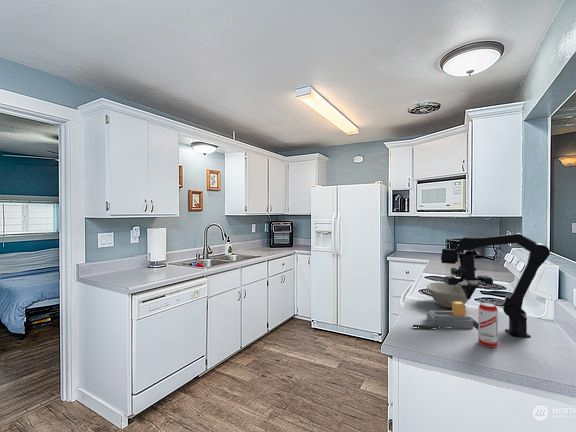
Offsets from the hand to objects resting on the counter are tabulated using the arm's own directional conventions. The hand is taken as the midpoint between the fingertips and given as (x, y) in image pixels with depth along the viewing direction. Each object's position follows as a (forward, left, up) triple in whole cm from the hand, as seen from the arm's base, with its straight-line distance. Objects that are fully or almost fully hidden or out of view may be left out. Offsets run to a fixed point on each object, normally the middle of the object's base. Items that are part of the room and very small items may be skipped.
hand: (468, 299), depth 135 cm
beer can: (-20, +2, -12) cm, 23 cm away
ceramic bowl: (+24, -1, -12) cm, 27 cm away
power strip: (0, +8, -12) cm, 14 cm away
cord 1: (-6, +21, -12) cm, 24 cm away
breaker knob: (0, +4, -8) cm, 9 cm away
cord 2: (0, -3, -12) cm, 12 cm away
